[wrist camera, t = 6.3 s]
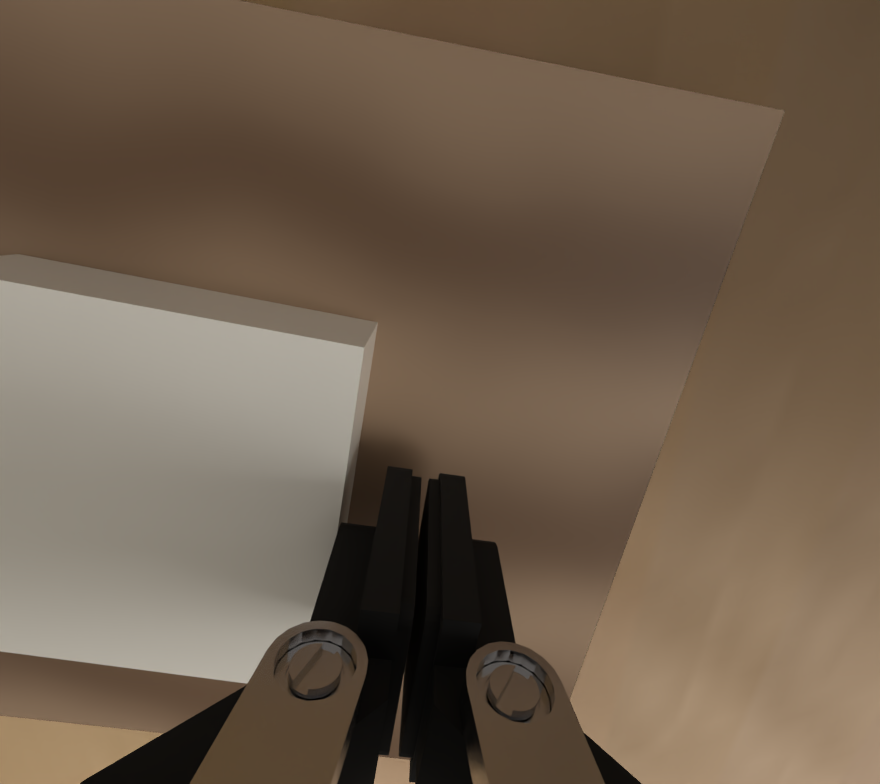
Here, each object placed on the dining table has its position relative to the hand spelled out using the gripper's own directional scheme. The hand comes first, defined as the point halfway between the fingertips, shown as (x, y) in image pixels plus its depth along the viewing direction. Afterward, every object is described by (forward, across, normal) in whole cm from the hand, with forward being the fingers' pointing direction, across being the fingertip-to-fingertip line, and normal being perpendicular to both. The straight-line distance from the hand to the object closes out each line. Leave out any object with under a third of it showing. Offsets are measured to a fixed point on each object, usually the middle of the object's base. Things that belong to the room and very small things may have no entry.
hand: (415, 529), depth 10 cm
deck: (+4, +3, 0) cm, 4 cm away
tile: (+1, +5, 0) cm, 5 cm away
